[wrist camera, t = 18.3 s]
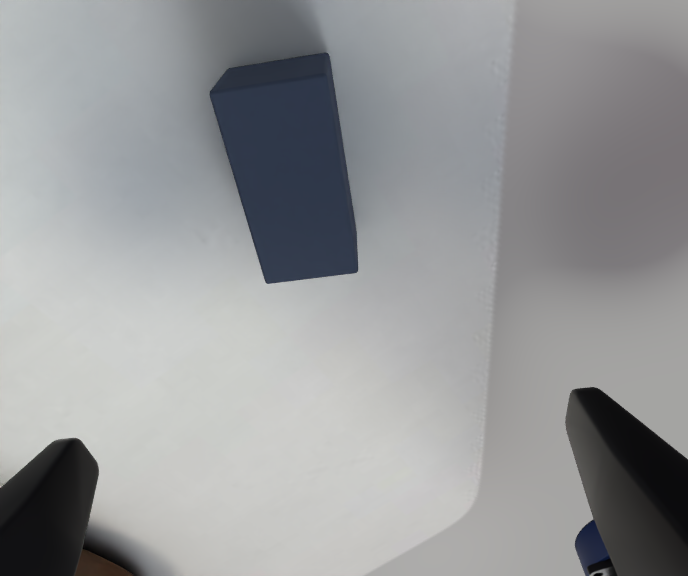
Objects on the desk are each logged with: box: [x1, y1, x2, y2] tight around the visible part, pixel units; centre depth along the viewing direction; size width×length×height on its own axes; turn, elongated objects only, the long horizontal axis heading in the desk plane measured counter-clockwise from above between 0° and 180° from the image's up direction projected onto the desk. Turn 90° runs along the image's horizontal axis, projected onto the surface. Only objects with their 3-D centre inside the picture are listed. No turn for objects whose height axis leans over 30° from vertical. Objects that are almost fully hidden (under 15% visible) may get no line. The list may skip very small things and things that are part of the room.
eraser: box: [210, 53, 358, 284], centre depth 15 cm, size 6×3×2 cm, turn 9°
